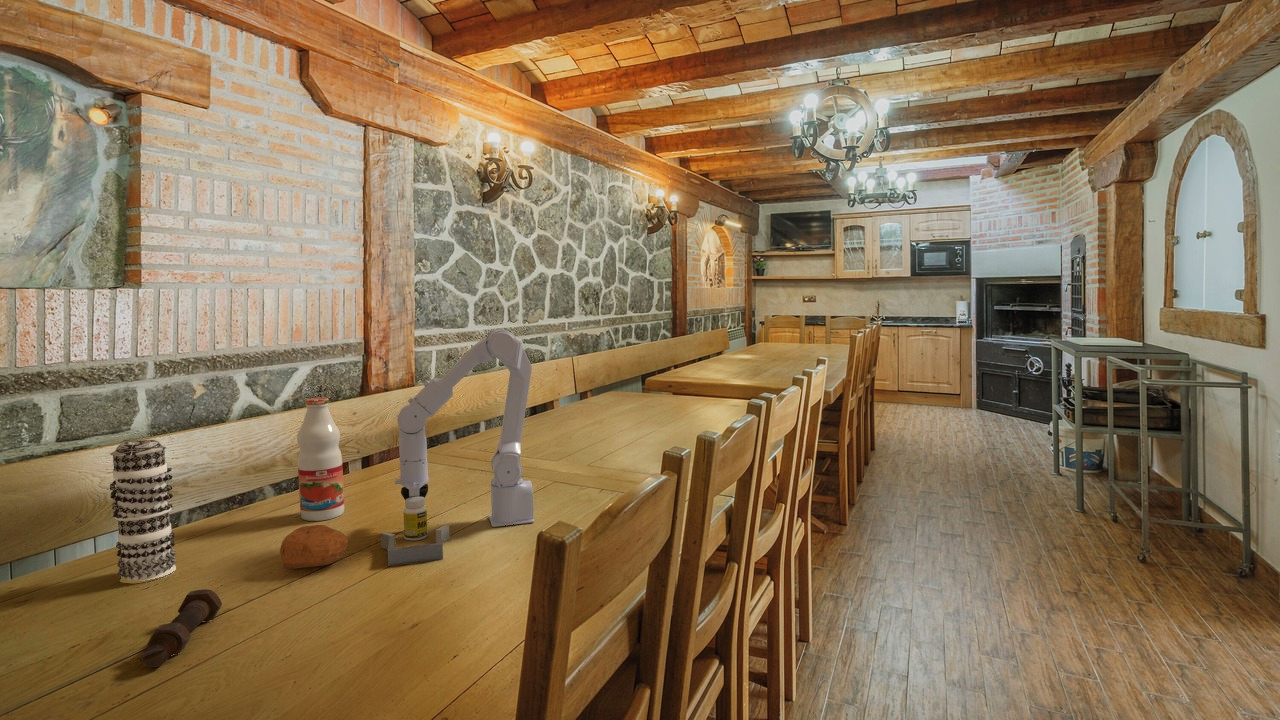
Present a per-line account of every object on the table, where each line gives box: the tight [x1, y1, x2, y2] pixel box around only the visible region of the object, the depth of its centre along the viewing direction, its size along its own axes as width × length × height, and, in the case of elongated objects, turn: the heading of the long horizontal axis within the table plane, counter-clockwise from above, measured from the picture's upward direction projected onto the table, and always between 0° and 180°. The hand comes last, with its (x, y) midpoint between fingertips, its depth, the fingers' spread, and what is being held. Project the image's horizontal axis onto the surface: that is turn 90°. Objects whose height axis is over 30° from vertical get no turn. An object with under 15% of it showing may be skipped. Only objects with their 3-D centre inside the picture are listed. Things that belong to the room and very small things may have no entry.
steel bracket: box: [380, 524, 450, 567], centre depth 128 cm, size 13×11×3 cm
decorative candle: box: [109, 439, 177, 581], centre depth 117 cm, size 9×9×25 cm
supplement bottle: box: [403, 496, 428, 541], centre depth 136 cm, size 5×5×8 cm
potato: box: [279, 524, 349, 569], centre depth 122 cm, size 9×11×8 cm
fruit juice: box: [296, 397, 345, 522], centre depth 150 cm, size 9×9×28 cm
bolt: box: [140, 588, 223, 668], centre depth 94 cm, size 6×5×15 cm
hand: (415, 519), depth 141 cm, fingers closed
